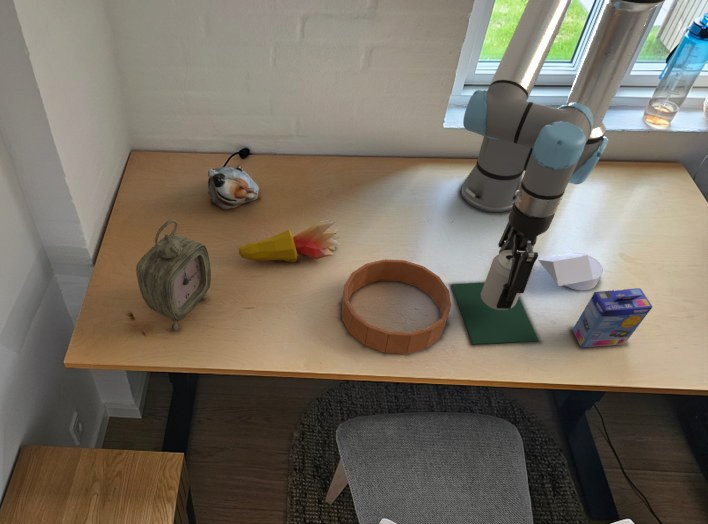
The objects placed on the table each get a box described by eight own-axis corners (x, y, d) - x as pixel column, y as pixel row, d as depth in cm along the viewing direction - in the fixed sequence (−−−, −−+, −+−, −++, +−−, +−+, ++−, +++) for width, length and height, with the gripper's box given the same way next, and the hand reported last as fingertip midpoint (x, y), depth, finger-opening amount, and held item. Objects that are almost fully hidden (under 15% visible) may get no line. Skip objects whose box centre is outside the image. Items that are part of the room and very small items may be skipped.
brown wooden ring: (342, 276, 142) (344, 257, 137) (439, 280, 140) (444, 261, 136) (341, 350, 128) (344, 332, 123) (450, 356, 126) (456, 337, 121)
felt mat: (451, 285, 139) (451, 284, 139) (511, 282, 139) (511, 280, 139) (472, 345, 127) (472, 343, 127) (538, 341, 128) (538, 340, 127)
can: (516, 292, 132) (534, 250, 123) (514, 316, 127) (532, 275, 118) (481, 285, 133) (496, 243, 124) (477, 308, 129) (492, 267, 120)
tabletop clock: (176, 338, 131) (158, 252, 112) (144, 323, 134) (121, 237, 115) (214, 297, 139) (203, 210, 120) (183, 283, 142) (167, 196, 123)
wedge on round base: (553, 296, 136) (605, 286, 137) (564, 275, 131) (617, 264, 132) (532, 270, 141) (583, 260, 143) (542, 248, 136) (594, 238, 138)
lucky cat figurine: (267, 189, 164) (270, 165, 151) (246, 225, 162) (247, 204, 149) (220, 164, 165) (218, 138, 152) (198, 200, 163) (195, 176, 149)
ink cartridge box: (581, 349, 126) (610, 302, 115) (570, 329, 129) (597, 281, 118) (627, 345, 126) (660, 298, 115) (614, 326, 130) (646, 277, 119)
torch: (243, 270, 150) (341, 247, 149) (244, 278, 142) (347, 255, 142) (236, 238, 147) (335, 215, 146) (237, 245, 139) (342, 221, 139)
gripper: (504, 174, 118) (475, 260, 135) (524, 242, 105) (489, 328, 122) (543, 175, 117) (509, 262, 135) (568, 243, 104) (527, 330, 122)
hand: (500, 293), depth 129 cm, fingers closed on can, 7 cm apart
